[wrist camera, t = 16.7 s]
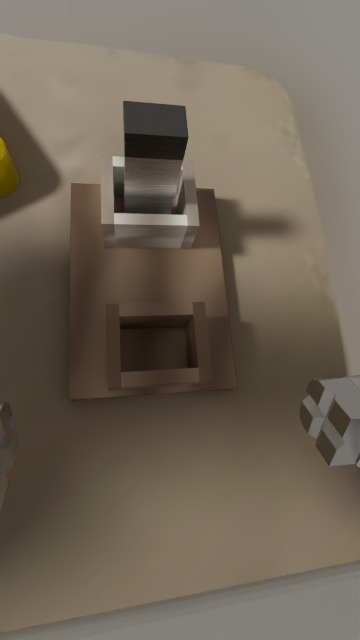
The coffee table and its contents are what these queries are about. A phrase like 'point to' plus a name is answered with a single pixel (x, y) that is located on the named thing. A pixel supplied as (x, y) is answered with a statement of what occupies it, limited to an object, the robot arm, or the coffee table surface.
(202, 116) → the coffee table surface
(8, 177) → the element tile
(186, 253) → the caddy
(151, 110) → the brushed metal bar
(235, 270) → the coffee table surface
